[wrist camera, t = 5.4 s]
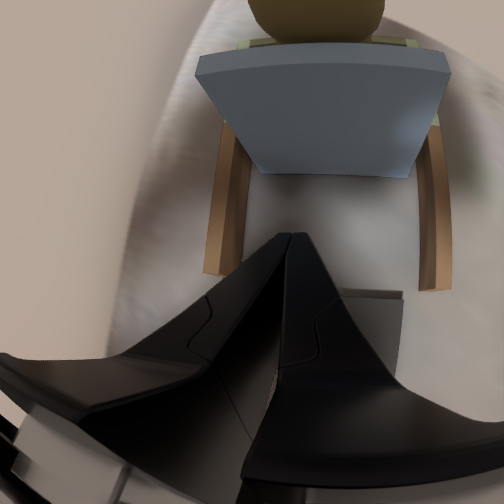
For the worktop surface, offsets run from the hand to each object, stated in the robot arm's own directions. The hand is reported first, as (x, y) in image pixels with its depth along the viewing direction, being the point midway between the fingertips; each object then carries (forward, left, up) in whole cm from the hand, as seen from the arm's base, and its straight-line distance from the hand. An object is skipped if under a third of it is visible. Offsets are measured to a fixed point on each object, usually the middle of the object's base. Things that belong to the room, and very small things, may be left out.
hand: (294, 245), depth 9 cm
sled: (+9, -1, -7) cm, 12 cm away
